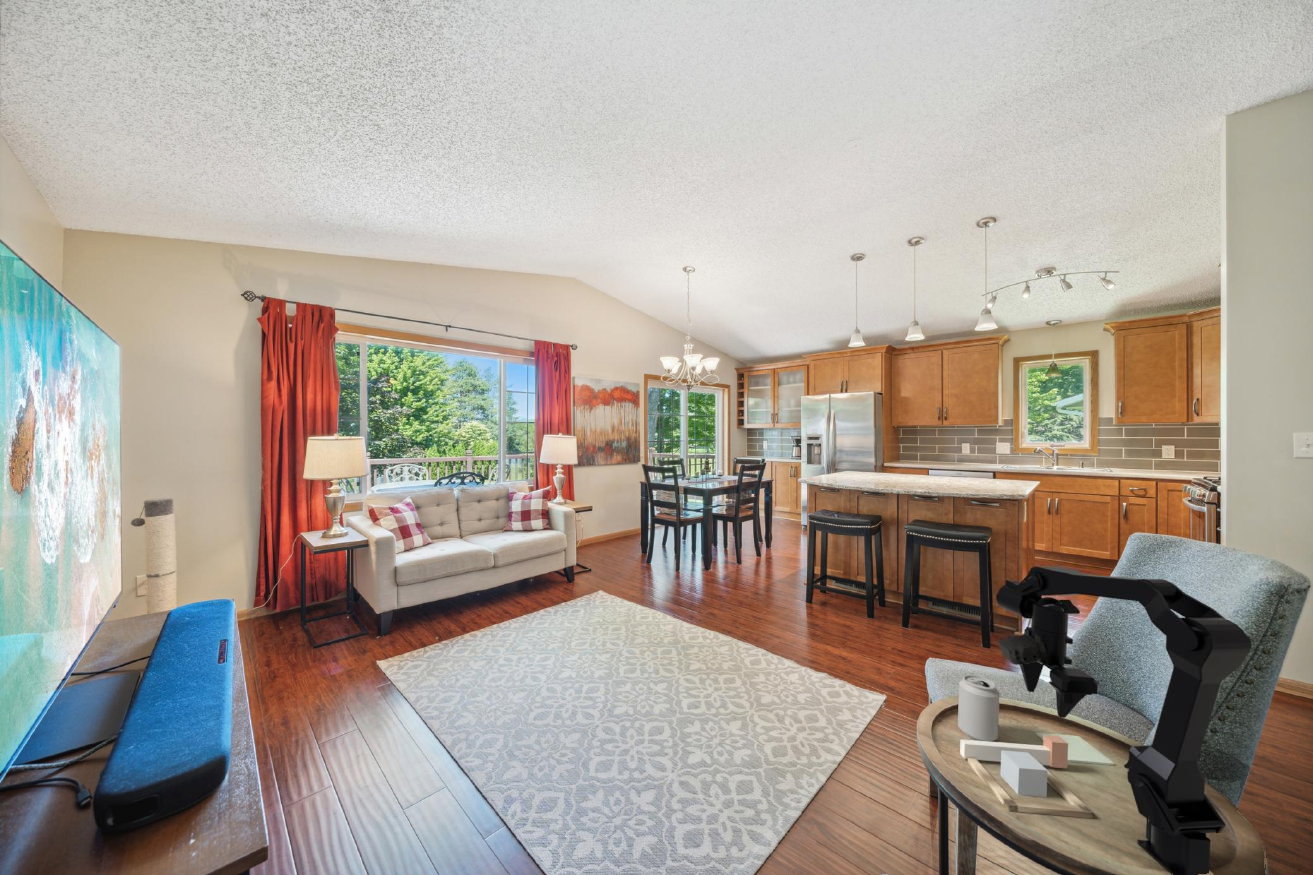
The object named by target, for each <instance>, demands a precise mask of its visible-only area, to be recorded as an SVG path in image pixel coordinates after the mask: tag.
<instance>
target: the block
mask: <svg viewBox="0 0 1313 875" xmlns="http://www.w3.org/2000/svg"><path fill="white" fill-rule="evenodd" d="M1045 768H1046V767H1045V766H1044V765H1041V764H1040V763H1039V762H1038V761H1037V760H1036V759H1035V758H1034V757H1033V756H1031V755H1030V754H1029V753H1028V752H1015V751H1003V750H1001V762H1000V776H1001V778H1002V779H1003V780H1004V781H1005V782H1006V784H1008V785H1009V786H1010V787H1011V789H1012V790H1013V791H1014V792H1015V793H1016V794H1017V795H1019V796H1020V795H1021V796H1031V797H1040V798H1041V797H1043V798H1044V797H1045V798H1047V796H1048V795H1047V794H1048V793H1047V792H1048V783H1047V770H1048V769H1047V768H1046V769H1045Z"/></svg>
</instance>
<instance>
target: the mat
mask: <svg viewBox="0 0 1313 875" xmlns="http://www.w3.org/2000/svg"><path fill="white" fill-rule="evenodd" d="M1035 735H1036V736H1037V737H1039V739H1040V740H1042V741H1043V735H1054V736H1060V737H1061V738H1062V739H1063V740H1065V741H1066V742H1067V743H1068V762H1069V763H1079V764H1093V765H1106V766H1107V765H1108V766H1115V763H1114V762H1113V761H1112V760H1111V759H1110V758H1108V757H1107V756H1105V755H1104V754H1103V753H1101V752H1100V751H1099V750H1097V749H1096V748H1095V747H1094V746H1093V745H1091V744H1090V743H1088V742H1087V741H1086V740H1084V739H1083V738H1082V737H1081V736H1079V735H1073V734H1072V735H1070V734H1056V733H1046V732H1045V733H1044V732H1042V733H1041V732H1036V733H1035ZM1068 762H1067V763H1068Z"/></svg>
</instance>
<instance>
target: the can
mask: <svg viewBox="0 0 1313 875" xmlns="http://www.w3.org/2000/svg"><path fill="white" fill-rule="evenodd" d="M957 712H958V713H957V726H958V728H959V729H960V731H962V732H964V733H963V734H964V735H965V736H967V737H968V738H970V739H972V740H976V741H989V742H995V741H996V740H998V739H999V738H998V737H999V723H1000V722H999V716H1000V691H999V690H998V689H997V685H996V683H995V682H994V681H992V680H991V679H989V678H986V677H984V676H981V675H976V674H965V675H963V676H962V679H961V680H960V681H959V683H958V710H957Z"/></svg>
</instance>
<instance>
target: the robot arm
mask: <svg viewBox="0 0 1313 875" xmlns="http://www.w3.org/2000/svg"><path fill="white" fill-rule="evenodd" d="M1082 595H1083V596H1093V597H1100V598H1107V599H1114V600H1115V599H1117V600H1124V601H1132V602H1138V603H1139V604H1140V605H1141V606H1142V607H1143V608H1144V610H1145V611H1146V614H1147V615H1148V616H1147V617H1149V619H1150V620H1149V621H1150V622H1151V623H1152V625H1154V627H1156V629H1158V630H1159V631H1160V632H1161V633H1162V634H1164V636H1165V650H1166V652H1167V654H1168V657H1169V659H1170V661H1171V663H1172V665H1173V666H1172V671H1171V675H1170V679H1169V682H1168V685H1167V689H1166V693H1165V697H1164V699H1163V700H1164V701H1163V704H1162V707H1161V711H1160V715H1159V718H1158V722H1157V725H1156V730H1155V732H1154V735H1153V736H1154V737H1153V739H1152V743H1151V745H1132V746H1130V749H1129V751H1128V760H1127V762H1126V763H1125V764H1124V765H1123V767H1124V768H1125V769H1127V772H1126V774H1127V776H1126V777H1127V782H1128V783H1129V784H1130V787H1131V790H1132V795H1133V798H1134V800H1135V804H1136V807H1137V808H1136V809H1137V811H1138V813H1139V814H1140V815H1141V816H1142V817H1144V818H1146V829H1145V830H1146V831H1145V838H1146V839H1137V841H1136V842H1137V845H1138V846H1139V847H1141V849H1142V850H1144V851H1145V852H1146V853H1147V854H1148V855H1149V856H1151V858H1153V859H1154V860H1155V861H1156V862H1157V863H1158V864H1159V865H1160V866H1162V868H1164V869H1165V870H1166V871H1167V872H1168V873H1169V872H1170V873H1171V874H1170V873H1169V874H1170V875H1172V874H1173V875H1198V874H1207V873H1209V870H1211V869H1210V868H1211V866H1210V865H1211V862H1210V861H1211V839H1210V837H1207V834H1213V833H1215V834H1221V833H1222V832H1223V830H1224V828H1225V827H1226V822H1225V821H1224V819H1223V818H1222V817H1221V816H1220V814H1219V813H1218V811H1217V810H1216V809H1215V808H1216V807H1214V806H1213V804H1212V803H1211V801H1210V800H1209V799H1208V797H1207V796H1206V794H1205V785H1206V783H1205V782H1206V781H1205V778H1204V776H1203V774H1202V771H1201V769H1200V766H1199V765H1198V759H1199V756H1200V753H1201V749H1202V746H1203V743H1204V740H1205V736H1206V733H1207V729H1208V726H1209V724H1210V719H1211V716H1212V713H1213V709H1214V707H1215V702H1216V699H1217V697H1218V693H1219V689H1220V686H1221V684H1222V682H1223V681H1224V680H1225V679H1226V678H1228V677H1229V676H1230V675H1232V673H1234V672H1235V671H1236V670H1237V669H1239V668H1240V667H1241V666H1242V664H1243V662H1244V661H1245V659H1246V657H1247V656H1248V655H1249V653H1250V652H1251V648H1252V640H1251V637H1249V636H1248V635H1247V634H1246V632H1245V631H1244V630H1243V628H1241V627H1240V626H1239V625H1238V624H1237V623H1235V622H1233V621H1232V620H1229V619H1227V618H1225V617H1224V616H1223V615H1222V614H1220V613H1219V612H1218V611H1216V610H1215V609H1214V608H1212V607H1211V606H1209V605H1207V604H1205V603H1203V602H1201V601H1200V600H1199V599H1196V598H1194V597H1193V596H1192V595H1191V596H1190V595H1189V594H1187V593H1185V592H1184V591H1183V590H1182V589H1180V588H1179V587H1178V586H1177V585H1176V584H1174V583H1173V582H1171V581H1168V580H1166V579H1162V578H1136V577H1135V578H1134V577H1133V578H1132V577H1123V576H1122V577H1121V576H1111V575H1110V576H1109V575H1099V574H1096V575H1095V574H1089V573H1084V572H1082V571H1080V570H1077V569H1074V568H1069V567H1066V566H1043V565H1042V566H1038V565H1037V566H1032V567H1030V569H1029V570H1028V573H1027V575H1026V576H1025V577H1024V578H1023V579H1022V580H1021V581H1020V582H1019V581H1017V580H1015V579H1006V580H1005V584H1004V585H1002V586H1001V587H1000V588H999V590H998V592H997V593H996V595H995V597H996V598H995V600H996V602H997V604H998V606H999V607H1000V608H1002V609H1004V610H1007V611H1009V612H1010V613H1012V614H1015V615H1017V616H1019V617H1022V618H1024V619H1026V620H1030V619H1031V623H1030V624H1031V625H1030V626H1025V628H1024V633H1023V634H1022V635H1009V636H1008V637H1006V638H1002V639H999V640H998V646H999V649H1000V651H1001V655H1002V657H1003V658H1005V659H1007V660H1008V661H1009V662H1010V663H1011V664H1013V665H1016V666H1017V665H1018V666H1019V667H1020V670H1021V673H1022V674H1021V675H1022V677H1023V680H1024V684H1025V687H1026V691H1027V692H1029V693H1034V692H1035V690H1036V688H1037V686H1038V683H1039V681H1040V677H1041V674H1042V671H1043V668H1044V667H1046V668H1047V669H1049V679H1050V681H1048V684H1050V686H1051V687H1052V688H1053V689H1054V690H1055V695H1056V697H1055V699H1056V712H1057V716H1058V717H1059V718H1064V719H1065V718H1066V717H1067V716H1068V715H1069V714H1070V713H1071V712H1072V711H1073V709H1075V707H1076V706H1077V705H1078V703H1080V702H1081V701H1082V700H1083V699H1084V698H1085V697H1086V696H1092V695H1098V694H1099V686H1100V685H1099V682H1098V681H1097V680H1096V679H1095V678H1094V677H1093V676H1091V675H1089V674H1088V673H1087V672H1085V671H1083V670H1082V669H1081V668H1071V667H1065V665H1069V666H1070V665H1073V663H1072V662H1073V660H1072V658H1070V657H1068V656H1067V651H1068V650H1067V649H1068V648H1067V646H1068V645H1074V639H1073V638H1071V637H1070V636H1068V630H1069V628H1068V627H1069V615H1073V614H1074V615H1078V614H1080V613H1081V611H1080V610H1079V608H1078V607H1077V606H1076V605H1075V604H1074V603H1072V602H1073V601H1072V600H1071V599H1056V598H1054V597H1053V596H1055V597H1056V596H1058V597H1059V596H1060V597H1061V596H1065V597H1068V596H1069V597H1070V596H1082ZM1044 596H1045V597H1044ZM1177 614H1178V615H1177ZM1179 615H1180V616H1182V617H1180V616H1179Z"/></svg>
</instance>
